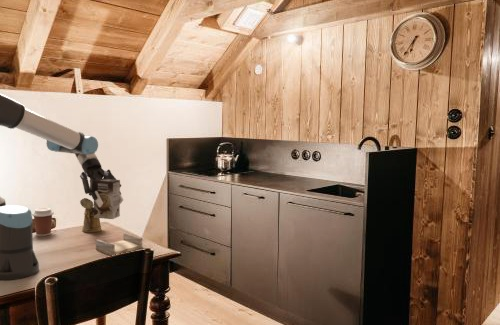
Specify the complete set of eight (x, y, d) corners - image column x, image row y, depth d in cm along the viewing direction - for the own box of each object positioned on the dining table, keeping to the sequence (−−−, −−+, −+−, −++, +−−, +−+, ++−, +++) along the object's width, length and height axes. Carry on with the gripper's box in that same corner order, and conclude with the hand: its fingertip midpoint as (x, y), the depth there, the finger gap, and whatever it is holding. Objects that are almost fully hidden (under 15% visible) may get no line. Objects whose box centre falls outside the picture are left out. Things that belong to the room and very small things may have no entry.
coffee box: (93, 217, 180) (92, 180, 178) (101, 214, 187) (101, 178, 185) (112, 219, 179) (112, 181, 177) (120, 216, 185) (120, 179, 183)
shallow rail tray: (112, 255, 173) (112, 245, 173) (95, 249, 180) (95, 239, 180) (142, 247, 185) (142, 238, 184) (125, 242, 192) (125, 233, 192)
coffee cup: (31, 233, 203) (31, 208, 202) (52, 230, 208) (51, 206, 207) (34, 237, 196) (33, 212, 194) (55, 235, 201) (54, 210, 199)
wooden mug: (75, 235, 201) (74, 197, 199) (86, 228, 214) (85, 192, 213) (94, 235, 201) (94, 198, 199) (104, 228, 215) (103, 193, 213)
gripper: (107, 166, 198) (129, 204, 191) (62, 170, 181) (84, 212, 173) (114, 155, 194) (136, 194, 187) (69, 158, 177) (91, 202, 169)
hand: (111, 203), depth 180 cm, fingers closed on coffee box, 9 cm apart
